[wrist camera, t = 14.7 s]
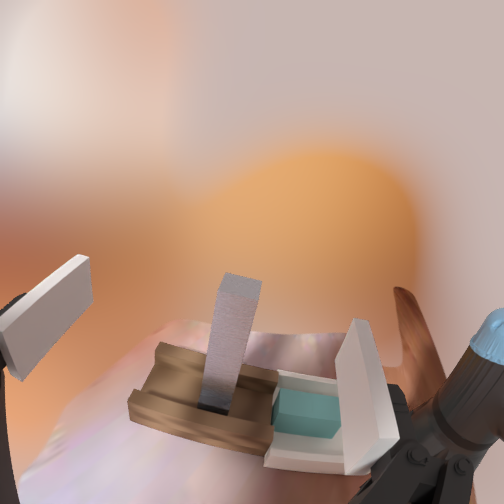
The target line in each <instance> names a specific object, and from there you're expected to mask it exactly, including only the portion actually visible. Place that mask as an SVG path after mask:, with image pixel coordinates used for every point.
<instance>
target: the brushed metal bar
mask: <svg viewBox="0 0 504 504" xmlns="http://www.w3.org/2000/svg"><path fill="white" fill-rule="evenodd" d="M261 284H262V281H259V280H255V279H251V278H247V277H243V276H238V275H234V274H230V273H225V275H224V278H223V280H222V282H221V284H220V287H219V289H218V292H217V299H216V304H215V309H214V316H213V321H212V327H211V333H210V338H209V344H208V350H207V356H206V362H205V369H204V375H203V381H202V387H201V394H200V397H199V400H198V405H197V409H201V410H204V411H208V412H212V413H216V414H220V415H224V416H228V413H229V409H230V405H231V401H232V397H233V394H234V390H235V386H236V383H237V379H238V375H239V372H240V368H241V364H242V360H243V357H244V353H245V349H246V346H247V342H248V338H249V334H250V331H251V327H252V323H253V319H254V315H255V312H256V308H257V304H258V300H259V295H260V289H261Z"/></svg>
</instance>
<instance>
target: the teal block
mask: <svg viewBox="0 0 504 504" xmlns="http://www.w3.org/2000/svg"><path fill="white" fill-rule="evenodd" d="M312 418H313V413H312V393H307V392H301V391H295V390H289V389H284V388H280V390H279V393H278V395H277V397H276V400H275V402H274V404H273V407H272V416H271V425H273V426H274V432H280V433H287V434H294V435H301V436H302V434H303V433H304V431H305V430H306V428H307V426H308V425H309V423H310V421H311V420H312Z"/></svg>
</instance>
